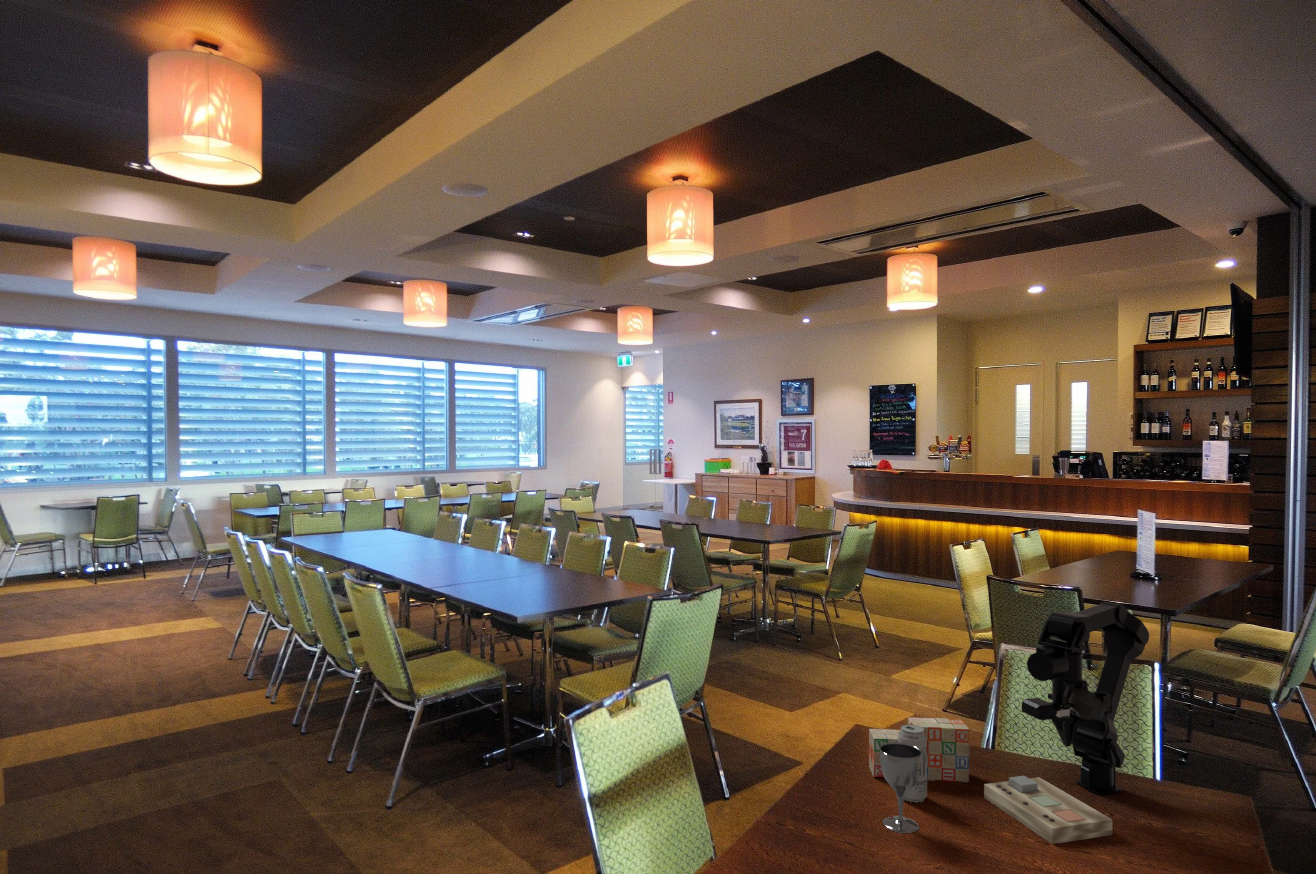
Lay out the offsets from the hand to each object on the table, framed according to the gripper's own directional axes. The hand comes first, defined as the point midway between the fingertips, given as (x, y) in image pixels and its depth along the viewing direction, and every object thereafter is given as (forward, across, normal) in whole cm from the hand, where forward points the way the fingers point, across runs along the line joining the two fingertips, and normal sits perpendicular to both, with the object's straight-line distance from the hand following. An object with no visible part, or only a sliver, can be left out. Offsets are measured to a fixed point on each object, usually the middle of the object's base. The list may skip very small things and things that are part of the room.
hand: (1067, 745), depth 168 cm
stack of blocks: (+12, -23, +20) cm, 33 cm away
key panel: (+12, -9, -4) cm, 15 cm away
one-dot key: (+11, -9, -4) cm, 15 cm away
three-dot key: (+9, -9, +3) cm, 13 cm away
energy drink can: (+12, -31, +10) cm, 35 cm away
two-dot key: (+11, -9, -10) cm, 18 cm away
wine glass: (+12, -40, 0) cm, 42 cm away
